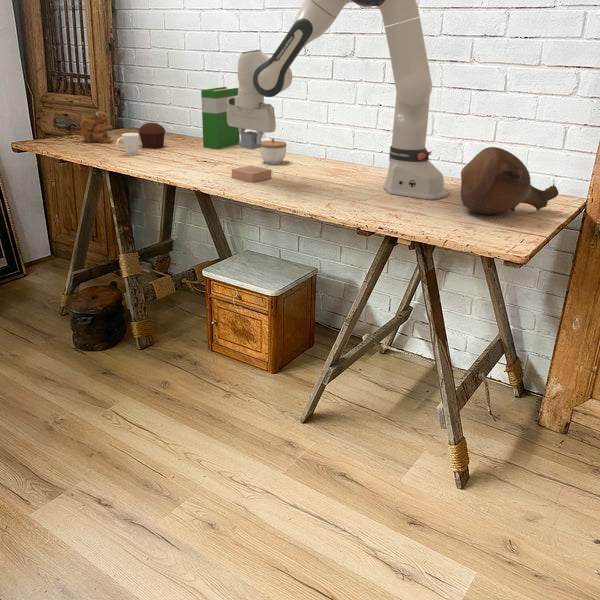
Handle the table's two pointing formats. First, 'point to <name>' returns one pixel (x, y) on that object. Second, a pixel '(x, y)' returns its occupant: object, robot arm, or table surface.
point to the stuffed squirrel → (96, 128)
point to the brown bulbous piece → (500, 183)
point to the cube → (249, 140)
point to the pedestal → (251, 173)
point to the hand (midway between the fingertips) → (251, 142)
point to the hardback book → (218, 118)
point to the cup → (130, 143)
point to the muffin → (152, 135)
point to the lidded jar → (273, 151)
